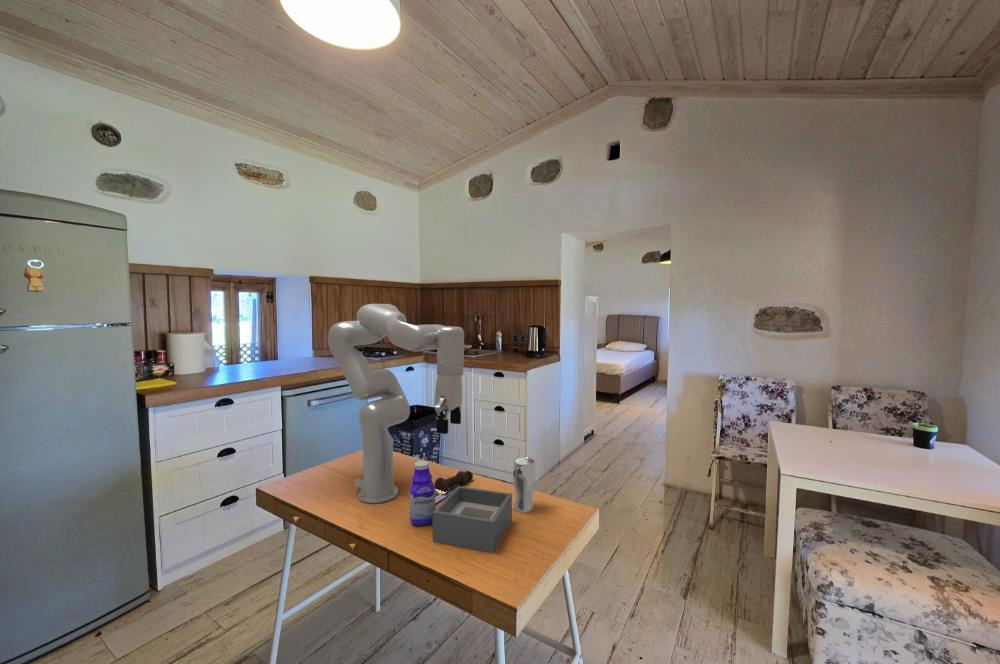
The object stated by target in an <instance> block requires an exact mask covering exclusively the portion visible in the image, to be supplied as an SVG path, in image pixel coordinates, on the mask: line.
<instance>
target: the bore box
mask: <svg viewBox="0 0 1000 664" xmlns="http://www.w3.org/2000/svg"><path fill="white" fill-rule="evenodd" d="M512 521H513V494H512V493H508V492H501V491H494V490H486V489H480V488H474V487H473V488H472V487H467V486H466V487H465V486H461V485H457V487H456V488H455V489H453V491H451V493H449V495H447V497H446V498H445V499H443V501H442V502H441V503H440V504H439V505H437V507H435V510H434V511H433V522H432V542H433V543H439V544H444V545H450V546H456V547H459V548H466V549H471V550H476V551H481V552H488V553H492V554H494V553H495V551H496V549H497V548H498V547H499V544H500V543H501V541H502V538H503V537H504V535H505V533H506V532H507V530H508V528H509V527H510V524H511V523H512Z"/></svg>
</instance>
